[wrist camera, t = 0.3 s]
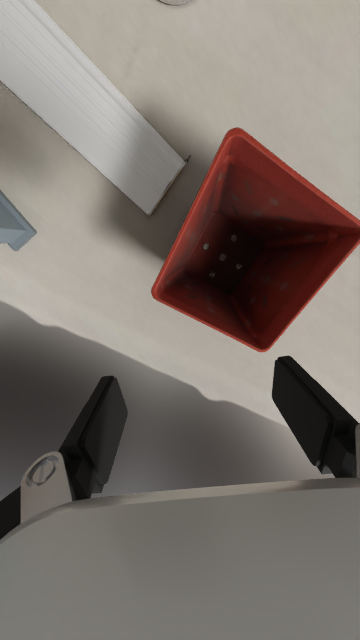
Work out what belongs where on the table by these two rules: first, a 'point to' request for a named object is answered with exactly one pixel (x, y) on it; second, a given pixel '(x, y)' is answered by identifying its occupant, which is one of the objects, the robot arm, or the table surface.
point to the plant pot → (254, 245)
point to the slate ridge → (13, 225)
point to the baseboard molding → (83, 104)
